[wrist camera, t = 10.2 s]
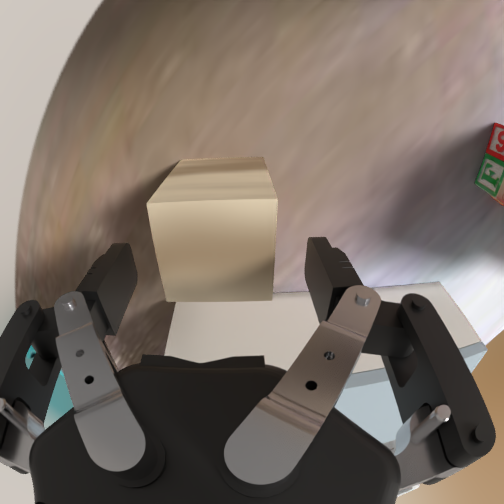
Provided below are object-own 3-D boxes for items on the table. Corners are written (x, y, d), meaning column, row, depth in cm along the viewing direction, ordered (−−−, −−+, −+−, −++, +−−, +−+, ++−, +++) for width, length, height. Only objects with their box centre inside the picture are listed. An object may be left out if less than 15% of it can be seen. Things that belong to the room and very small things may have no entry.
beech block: (180, 160, 16) (146, 203, 10) (262, 157, 16) (277, 198, 10) (187, 231, 19) (166, 301, 13) (261, 230, 19) (272, 300, 13)
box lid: (159, 381, 15) (156, 394, 14) (482, 341, 16) (487, 349, 15) (195, 454, 22) (195, 462, 21) (416, 424, 22) (419, 431, 22)
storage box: (177, 294, 22) (159, 379, 15) (439, 281, 22) (481, 340, 16) (200, 385, 29) (196, 447, 22) (394, 367, 30) (414, 419, 23)
